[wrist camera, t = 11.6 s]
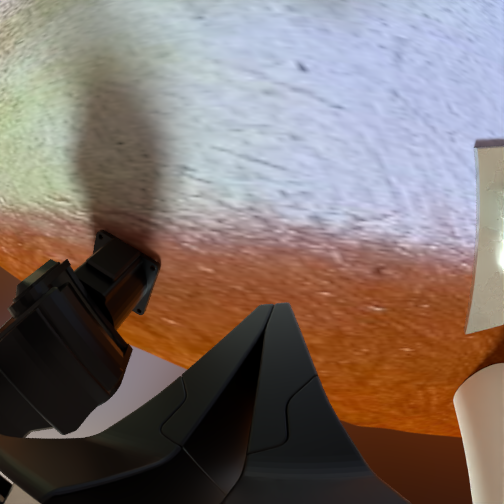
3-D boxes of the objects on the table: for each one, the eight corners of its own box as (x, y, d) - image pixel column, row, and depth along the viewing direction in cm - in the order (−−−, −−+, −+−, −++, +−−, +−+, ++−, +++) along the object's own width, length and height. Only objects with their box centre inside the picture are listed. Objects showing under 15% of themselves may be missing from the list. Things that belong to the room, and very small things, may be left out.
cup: (489, 406, 26) (513, 510, 12) (441, 409, 27) (458, 528, 13) (523, 362, 22) (565, 474, 8) (475, 363, 24) (513, 498, 10)
